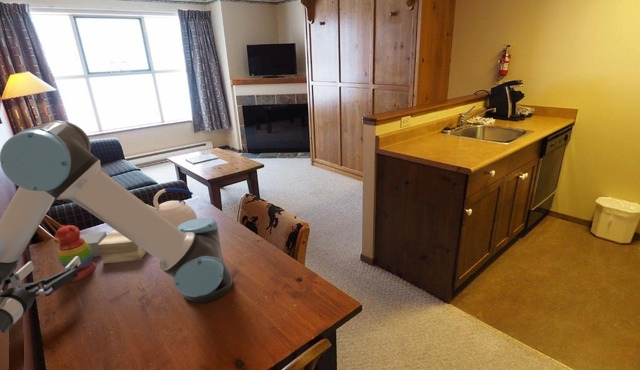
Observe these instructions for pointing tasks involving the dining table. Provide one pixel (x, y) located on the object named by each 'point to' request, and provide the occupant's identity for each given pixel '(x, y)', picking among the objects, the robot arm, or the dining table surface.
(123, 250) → the birch block
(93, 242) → the stoneware block
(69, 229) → the stacking bear
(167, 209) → the kettle
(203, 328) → the dining table surface
